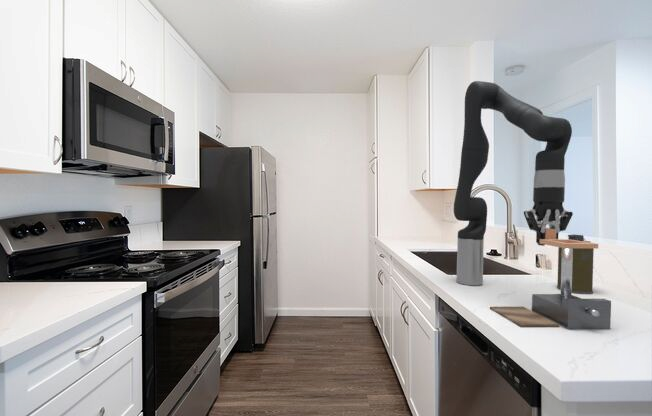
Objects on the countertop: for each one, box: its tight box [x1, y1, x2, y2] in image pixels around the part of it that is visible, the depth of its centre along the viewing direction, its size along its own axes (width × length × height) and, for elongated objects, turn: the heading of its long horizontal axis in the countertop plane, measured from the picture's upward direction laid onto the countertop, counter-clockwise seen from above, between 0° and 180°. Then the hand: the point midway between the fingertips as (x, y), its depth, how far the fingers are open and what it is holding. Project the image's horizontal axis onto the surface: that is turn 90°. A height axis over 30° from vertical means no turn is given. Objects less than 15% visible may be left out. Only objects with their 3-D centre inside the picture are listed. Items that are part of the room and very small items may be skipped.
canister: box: [556, 234, 595, 295], centre depth 117 cm, size 11×10×20 cm
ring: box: [540, 227, 599, 249], centre depth 90 cm, size 14×9×4 cm, turn 3°
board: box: [489, 306, 560, 328], centre depth 88 cm, size 14×10×1 cm
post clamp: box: [531, 248, 612, 330], centre depth 86 cm, size 15×11×19 cm
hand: (546, 245), depth 95 cm, fingers closed on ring, 3 cm apart
